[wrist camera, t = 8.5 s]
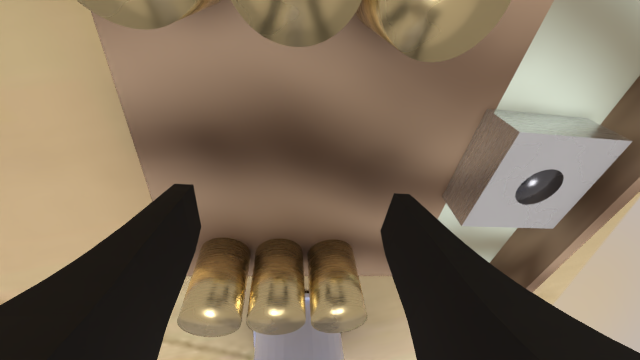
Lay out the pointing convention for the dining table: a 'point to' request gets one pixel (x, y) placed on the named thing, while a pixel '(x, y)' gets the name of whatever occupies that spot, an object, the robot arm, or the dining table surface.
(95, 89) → the dining table surface
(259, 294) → the spacers
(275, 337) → the robot arm
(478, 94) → the tray
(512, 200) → the square block with knob
